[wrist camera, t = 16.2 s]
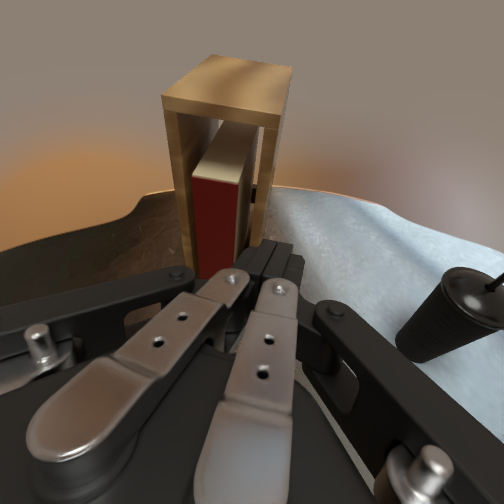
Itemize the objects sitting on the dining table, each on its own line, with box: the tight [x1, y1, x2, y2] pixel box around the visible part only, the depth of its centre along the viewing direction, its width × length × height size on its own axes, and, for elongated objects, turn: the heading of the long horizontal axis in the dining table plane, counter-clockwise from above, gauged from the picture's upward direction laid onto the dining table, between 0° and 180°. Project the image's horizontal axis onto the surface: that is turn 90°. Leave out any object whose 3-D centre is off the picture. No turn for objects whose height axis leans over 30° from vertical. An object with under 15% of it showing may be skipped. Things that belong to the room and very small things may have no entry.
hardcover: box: [191, 120, 259, 279], centre depth 38 cm, size 5×15×21 cm, turn 171°
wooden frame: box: [161, 55, 293, 279], centre depth 36 cm, size 10×15×27 cm, turn 170°
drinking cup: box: [395, 267, 504, 363], centre depth 31 cm, size 8×8×20 cm
